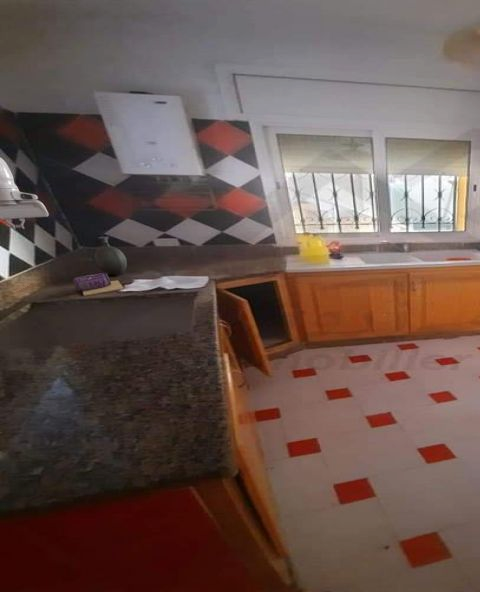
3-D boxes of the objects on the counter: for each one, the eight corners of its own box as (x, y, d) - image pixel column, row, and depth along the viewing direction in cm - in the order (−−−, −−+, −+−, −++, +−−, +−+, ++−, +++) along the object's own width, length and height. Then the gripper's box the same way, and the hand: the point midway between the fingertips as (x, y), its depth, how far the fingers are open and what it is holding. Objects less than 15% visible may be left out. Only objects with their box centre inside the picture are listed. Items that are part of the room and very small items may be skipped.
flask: (106, 279, 173) (91, 239, 165) (99, 274, 182) (84, 236, 175) (133, 275, 182) (120, 236, 174) (125, 270, 191) (113, 234, 184)
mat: (84, 295, 148) (83, 294, 147) (81, 287, 160) (80, 286, 160) (123, 288, 157) (123, 287, 157) (118, 281, 170) (117, 280, 170)
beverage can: (74, 282, 154) (107, 276, 162) (79, 294, 153) (112, 288, 161) (70, 275, 149) (104, 269, 157) (76, 287, 148) (110, 281, 156)
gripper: (-39, 197, 123) (-22, 232, 128) (41, 195, 137) (54, 227, 142) (-36, 196, 127) (-20, 231, 132) (41, 195, 141) (53, 226, 146)
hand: (19, 229), depth 137 cm, fingers closed
